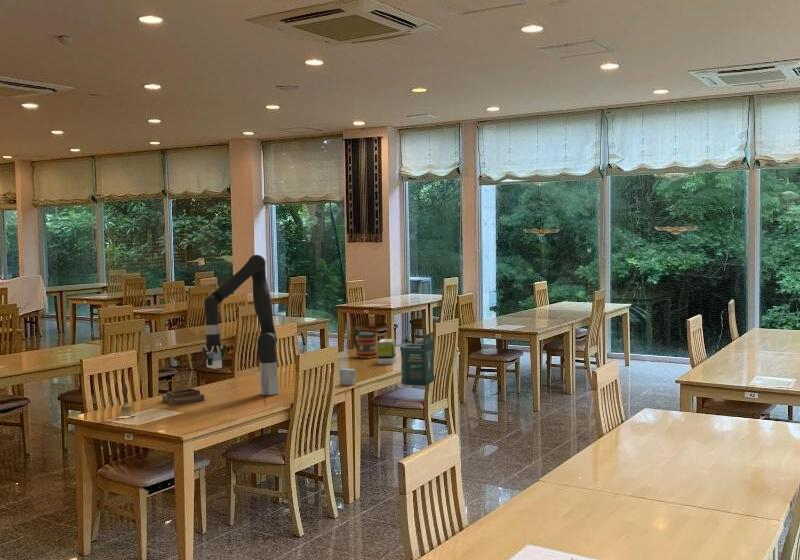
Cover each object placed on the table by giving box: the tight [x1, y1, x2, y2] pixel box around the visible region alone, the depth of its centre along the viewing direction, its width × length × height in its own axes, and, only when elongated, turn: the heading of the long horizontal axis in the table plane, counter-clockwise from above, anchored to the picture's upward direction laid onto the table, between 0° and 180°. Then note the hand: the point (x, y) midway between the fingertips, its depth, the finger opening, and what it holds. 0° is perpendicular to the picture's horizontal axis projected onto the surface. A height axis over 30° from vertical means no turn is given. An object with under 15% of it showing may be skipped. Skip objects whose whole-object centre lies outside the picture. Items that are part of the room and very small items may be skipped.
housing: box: [206, 351, 223, 370], centre depth 425 cm, size 9×4×8 cm, turn 39°
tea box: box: [376, 338, 397, 365], centre depth 525 cm, size 15×10×15 cm, turn 172°
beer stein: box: [352, 327, 378, 359], centre depth 551 cm, size 19×15×20 cm
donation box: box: [399, 331, 436, 387], centre depth 450 cm, size 16×16×28 cm
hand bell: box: [118, 383, 135, 416], centre depth 383 cm, size 8×8×16 cm
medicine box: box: [339, 368, 356, 386], centre depth 451 cm, size 8×4×9 cm, turn 71°
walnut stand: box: [162, 387, 205, 406], centre depth 418 cm, size 16×16×5 cm
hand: (214, 364), depth 425 cm, fingers closed on housing, 4 cm apart
